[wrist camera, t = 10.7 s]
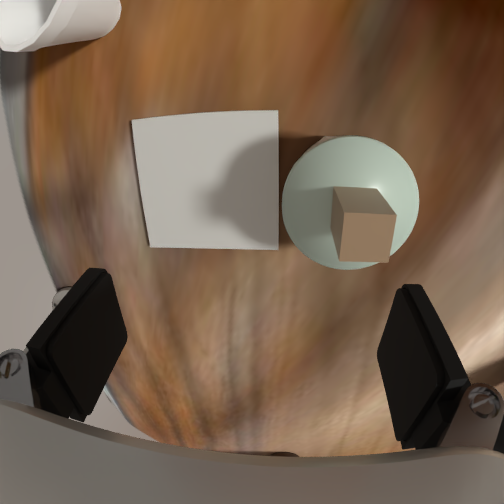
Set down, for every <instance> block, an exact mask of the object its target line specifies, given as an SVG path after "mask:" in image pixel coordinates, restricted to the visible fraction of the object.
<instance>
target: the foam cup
mask: <svg viewBox="0 0 504 504" xmlns="http://www.w3.org/2000/svg"><path fill="white" fill-rule="evenodd" d="M120 13H121V4H120V1H119V0H0V47H1V49H2V50H3V51H12V52H26V51H36V50H38V49H39V48H43V47H48V46H53V45H59V44H65V43H72V42H79V41H87V40H93V39H97V38H100V37H103V36H105V35H106V34H107V33H109V32H110V31H111V30H112V29H113V28H114V27H115V25H116V23H117V22H118V20H119V18H120Z"/></svg>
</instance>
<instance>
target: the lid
mask: <svg viewBox="0 0 504 504" xmlns="http://www.w3.org/2000/svg"><path fill="white" fill-rule="evenodd" d="M418 209H419V192H418V186H417V183H416V180H415V177H414V175H413V173H412V170H411V169H410V167H409V166H408V164H407V163H406V162H405V160H404V159H403V158H402V157H401V156H400V155H399V154H398V153H397V152H395V151H394V150H393V149H391V148H390V147H388V146H387V145H385V144H384V143H382V142H380V141H377V140H375V139H372V138H369V137H364V136H358V135H346V136H338V137H334V138H331V139H328V140H325V141H323V142H321V143H319V144H317V145H315V146H314V147H312V148H311V149H309V150H308V151H307V152H306V153H304V154H303V155H302V156H301V157H300V158H299V160H298V161H297V162H296V163H295V165H294V166H293V167H292V169H291V171H290V173H289V175H288V177H287V179H286V182H285V185H284V190H283V195H282V216H283V221H284V225H285V227H286V230H287V232H288V234H289V236H290V238H291V240H292V241H293V243H294V244H295V246H296V247H297V248H298V249H299V250H300V251H301V252H302V253H303V254H305V255H306V256H307V257H308V258H310V259H312V260H313V261H315V262H317V263H319V264H321V265H324V266H327V267H330V268H335V269H345V270H349V269H360V268H364V267H368V266H371V265H374V264H376V263H379V262H388V261H389V256H390V255H392V254H393V253H394V252H395V251H396V250H398V249H399V248H400V247H401V245H402V244H403V243H404V242H405V241H406V239H407V238H408V236H409V235H410V233H411V231H412V229H413V227H414V224H415V222H416V219H417V215H418Z"/></svg>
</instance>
